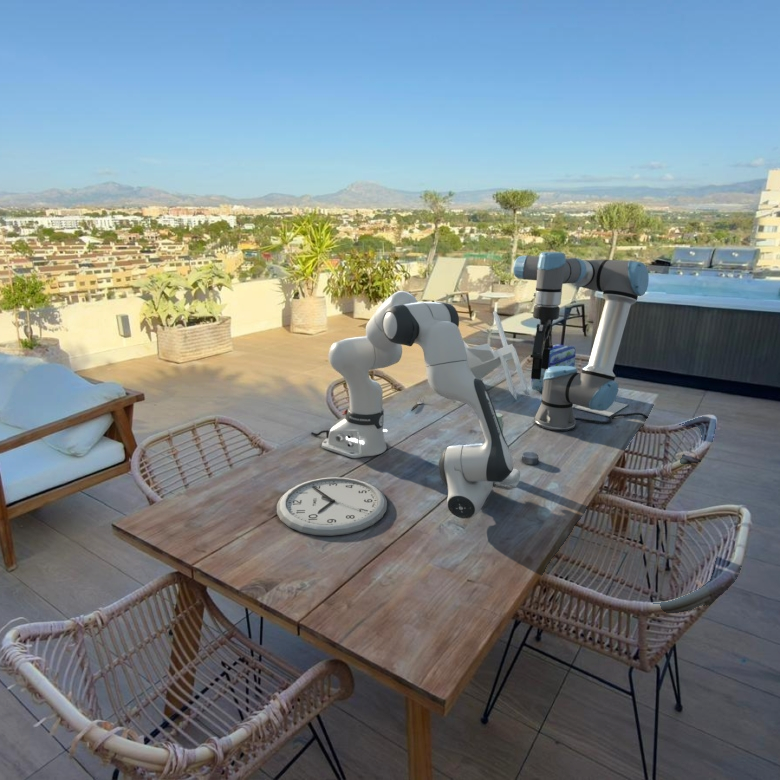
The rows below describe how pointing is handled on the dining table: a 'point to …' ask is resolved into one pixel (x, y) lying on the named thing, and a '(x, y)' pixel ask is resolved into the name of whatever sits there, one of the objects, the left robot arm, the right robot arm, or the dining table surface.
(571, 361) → the lunch box
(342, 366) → the left robot arm
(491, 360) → the white plastic object
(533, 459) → the lid
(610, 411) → the invitation card
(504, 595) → the dining table surface
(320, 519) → the wall clock
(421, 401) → the fork
